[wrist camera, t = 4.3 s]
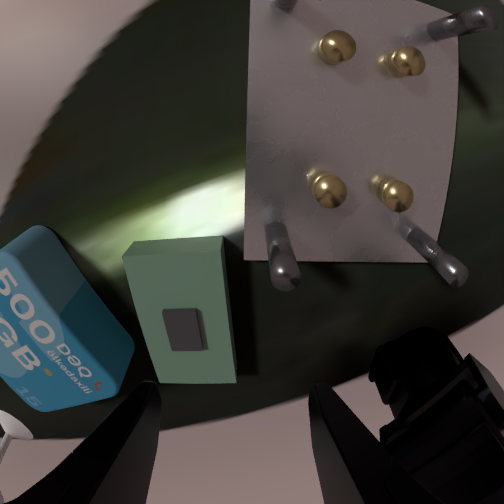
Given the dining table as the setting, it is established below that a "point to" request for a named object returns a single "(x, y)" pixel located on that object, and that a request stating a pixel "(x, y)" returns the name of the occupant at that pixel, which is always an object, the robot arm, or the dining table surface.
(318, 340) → the dining table surface
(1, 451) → the champagne flute
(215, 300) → the board
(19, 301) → the data package
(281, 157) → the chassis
